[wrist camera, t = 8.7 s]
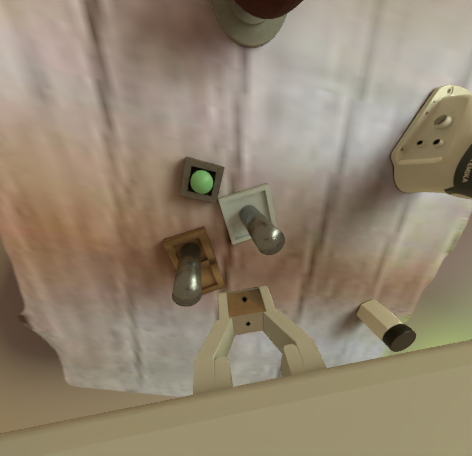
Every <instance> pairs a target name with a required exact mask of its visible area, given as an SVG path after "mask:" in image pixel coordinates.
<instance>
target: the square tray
mask: <svg viewBox="0 0 472 456" xmlns="http://www.w3.org/2000/svg"><path fill="white" fill-rule="evenodd" d="M218 201H219V204H220V207H221V210H222V213H223V217H224V220H225V223H226V226H227V229H228V232H229V236H230V239H231V242H232V245H234V244H237V243H240V242H243V241H246V240H249V239H252V238H251V236H250V235H249V233H248V231H247V230H246V228H245V226H244V225H243V223H242V222H241V220H240V218H239V213H240V210H241V209H242V208H243V207H244V206H247V205H252V206H255V207H256V208H257V209H258V210H259V211H260V212H261V213H262V214H263V215H264V216H265V217H266V218H267V219H268V220H269V221H270V222H271V223H272V224H273V225H274V226H275V227H277V224H276V219H275V214H274V209H273V203H272V198H271V193H270V187H269V184H268V183H265V184H262V185H258V186H255V187H252V188H249V189H246V190H242V191H239V192H236V193H233V194H229V195H226V196H223V197H220V198H218Z"/></svg>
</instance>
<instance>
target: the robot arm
mask: <svg viewBox="0 0 472 456" xmlns="http://www.w3.org/2000/svg"><path fill="white" fill-rule="evenodd" d="M391 159H392V162H393V165H394V179H395V183H396V185H397V187H398V188H399V189H400V190H401V191H403V192H405V193H416V192H435V193H447V194H449V195H452V196H456V197H461V198H467V199H472V93H471V92H469V91H468V90H466V89H464V88H462V87H460V86H455V85H447V86H442V87H439V88H436V89H435V90H434V91H433V92H432V94H431V95H430V97H429V98H428V100H427V101H426V103H425V104H424V106H423V107H422V109H421V110H420V112H419V113H418V114H417V116H416V117H415V119H414V120H413V122H412V123H411V125H410V126H409V128H408V129H407V131H406V132H405V134H404V135H403V137H402V138H401V140H400V141H399V143H398V144H397V146H396V147H395V149H394V150H393V152H392V154H391ZM218 311H219V320H216V322H215V324H214V326H213V327H212V329H211V331H210V333H209V335H208V337H207V339H206V341H205V342H204V344H203V346H202V348H201V350H200V352H199V354H198V355H197V357H196V359H195V363H194V383H193V395H190V396H185V397H180V398H175V399H170V400H165V401H160V402H155V403H150V404H145V405H140V406H135V407H130V408H125V409H120V410H114V411H109V412H104V413H100V414H95V415H89V416H84V417H79V418H75V419H69V420H64V421H60V422H54V423H49V424H44V425H39V426H34V427H29V428H24V429H19V430H14V431H9V432H4V433H0V456H472V340H467V341H462V342H457V343H452V344H447V345H442V346H437V347H431V348H427V349H422V350H417V351H412V352H406V353H401V354H396V355H391V356H386V357H381V358H376V359H371V360H366V361H361V362H356V363H351V364H346V365H341V366H336V367H331V368H326V366H325V364H324V361H323V359H322V357H321V355H320V353H319V351H318V349H317V346H316V344H315V342H314V340H313V339H312V338H311V337H310V336H309V335H307V334H306V333H305V332H304V331H303V330H302V329H300V328H299V327H298V326H297V325H296V324H295V323H293V322H292V321H291V320H290V319H289V318H288V317H286V316H285V315H284V314H283V313H282V312H281V311H279V310H276V309H275V306H274V303H273V300H272V298H271V295H270V292H269V289H268V287H267V286H261V287H254V288H248V289H242V290H237V291H230V292H223V293H218ZM256 331H263V332H264V333H265V334H266V335H267V336H268V337H269V339H270V340H271V341H272V342H273V343H274V344H275V346H276V347H277V348H278V349H279V350H280V351H281V353H282V360H281V366H280V371H281V374H282V377H280V378H275V379H270V380H265V381H260V382H255V383H250V384H245V385H240V386H235V387H233V383H232V376H231V371H230V365H229V360H228V358H227V355H228V353H229V350H230V347H231V344H232V342H233V339H234V335H239V334H244V333H249V332H256Z"/></svg>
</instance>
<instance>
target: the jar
mask: <svg viewBox="0 0 472 456" xmlns="http://www.w3.org/2000/svg"><path fill="white" fill-rule="evenodd" d="M356 315H357V316H358V317H359V318H360V319H361V320H362V321H363V322H364V323H365V324H366V325H367V326H368V327H369V328H370V329H371V331H372V332H373V333H374V334H375V335H376V336H377V337H378V338H379V339H380V340H382V341H383V342H384V343H385V344H386V345H387V346H388V347H389V349H390V350H392V351H394V352H398V351H401V350H404V349H406V348H407V347H408V346H410V345H411V344H412V343H413V342H414V340H415V338H416V333H415V332H414V331H413V330H412V329H411V328H410V327H408V326H407V325H405V324H404V323H403V322H401V321H400V320H399V319H398V318H397V317H396V316H395V315H394V314H393V313H391V312H390V311H389V310H387V309H386V308H385V307H383V306H382V305H381V304H380V303H379V302H377V301H376V300H375V299H372V300H370V301H367V302H365V303H363V304H361V306H360V308H359V310H358V312H357V314H356Z"/></svg>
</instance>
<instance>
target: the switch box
mask: <svg viewBox="0 0 472 456" xmlns="http://www.w3.org/2000/svg"><path fill="white" fill-rule="evenodd" d="M192 166H194V167H198V168H202V169H206V170H210V171H214V172H215V175H214V179H213V187H212V189H211V193H205V194H200V193H197V192H195V191H194V190H193V189H190V188H188V185H189V180H190V174H191V168H192ZM223 171H224V167H223V166H220V165H216V164H212V163H208V162H205V161H201V160H197V159H193V158H190V157H186V159H185V165H184V171H183V177H182V184H181V190H180V196H183V197H188V198H192V199H197V200H202V201H207V202H211V203H216V202H217V197H218V193H219V189H220V184H221V180H222V176H223Z"/></svg>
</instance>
